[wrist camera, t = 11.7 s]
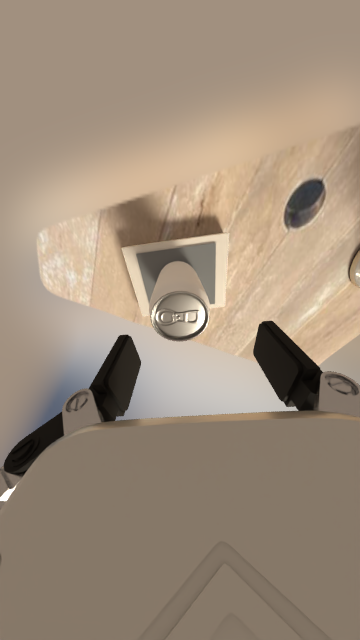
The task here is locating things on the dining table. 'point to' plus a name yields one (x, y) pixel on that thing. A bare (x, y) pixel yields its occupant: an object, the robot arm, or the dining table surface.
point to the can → (179, 303)
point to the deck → (196, 251)
